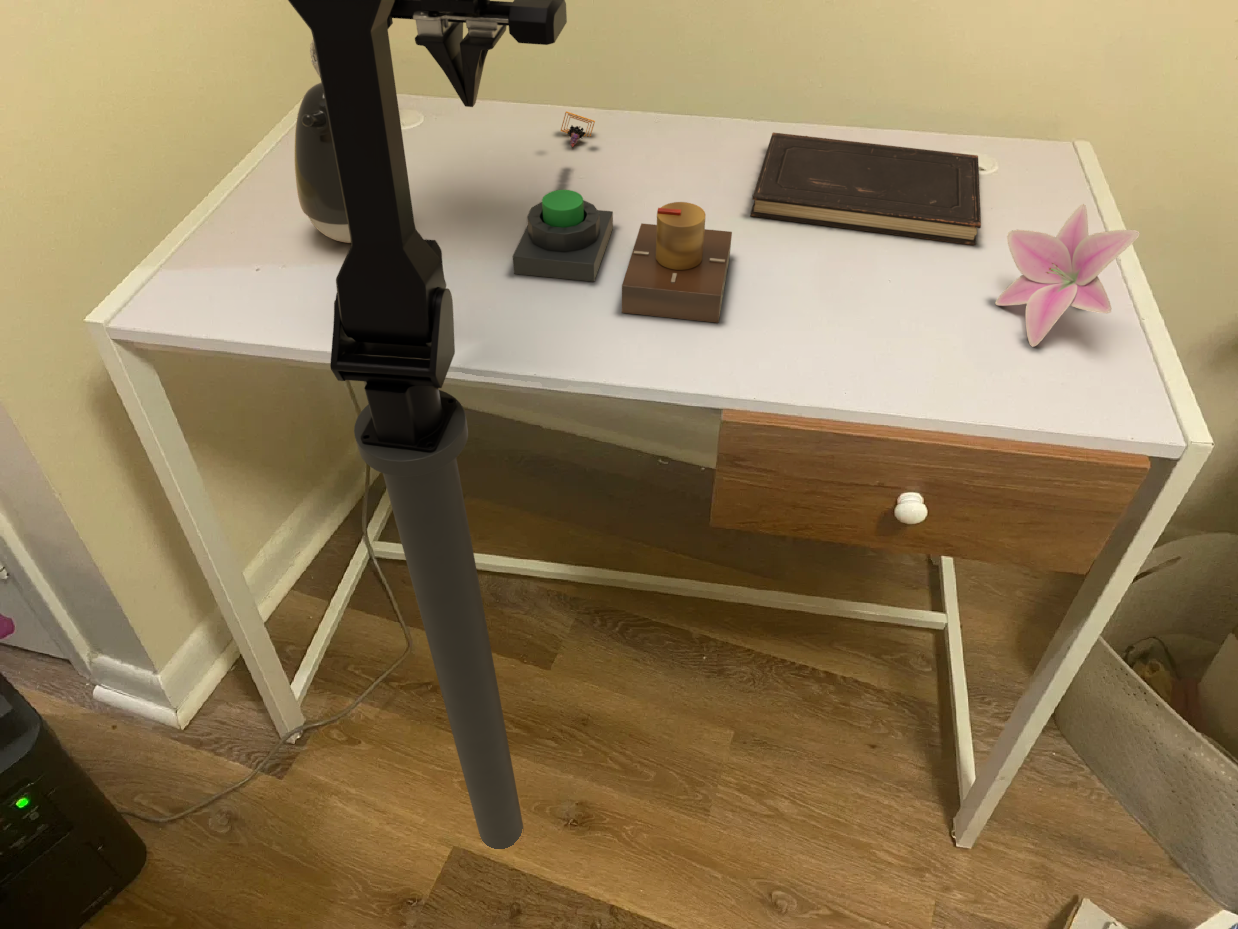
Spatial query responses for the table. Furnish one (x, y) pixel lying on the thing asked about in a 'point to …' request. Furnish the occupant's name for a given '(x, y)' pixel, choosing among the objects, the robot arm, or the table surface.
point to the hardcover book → (870, 188)
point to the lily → (1061, 271)
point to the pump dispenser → (318, 168)
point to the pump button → (563, 208)
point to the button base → (564, 246)
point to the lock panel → (676, 280)
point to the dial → (680, 235)
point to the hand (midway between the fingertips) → (470, 105)
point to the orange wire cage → (576, 129)
